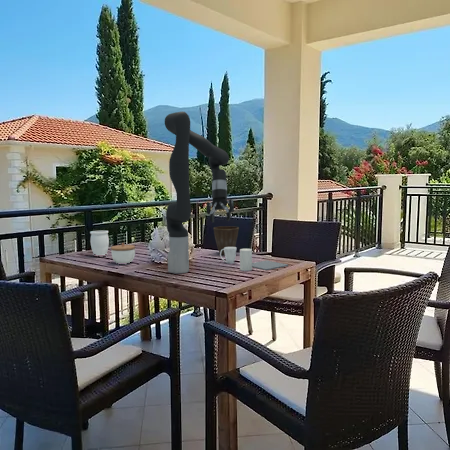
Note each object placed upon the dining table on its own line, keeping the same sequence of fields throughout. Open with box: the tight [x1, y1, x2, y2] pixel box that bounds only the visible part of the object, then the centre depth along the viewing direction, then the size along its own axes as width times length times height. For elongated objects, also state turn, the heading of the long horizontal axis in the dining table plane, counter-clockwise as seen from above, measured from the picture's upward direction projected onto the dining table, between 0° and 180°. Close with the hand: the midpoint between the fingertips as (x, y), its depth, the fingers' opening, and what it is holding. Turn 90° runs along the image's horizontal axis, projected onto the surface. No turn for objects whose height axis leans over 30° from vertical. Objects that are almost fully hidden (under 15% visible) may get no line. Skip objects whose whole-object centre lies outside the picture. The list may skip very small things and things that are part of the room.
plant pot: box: [213, 225, 240, 256], centre depth 250 cm, size 15×15×16 cm
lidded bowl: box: [110, 242, 136, 264], centre depth 227 cm, size 13×13×11 cm
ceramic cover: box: [239, 248, 253, 272], centre depth 207 cm, size 6×6×10 cm
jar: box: [89, 229, 110, 255], centre depth 248 cm, size 11×10×15 cm
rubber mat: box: [252, 259, 289, 271], centre depth 216 cm, size 16×16×1 cm
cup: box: [219, 246, 238, 264], centre depth 226 cm, size 7×10×8 cm
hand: (220, 221), depth 213 cm, fingers open, 8 cm apart
